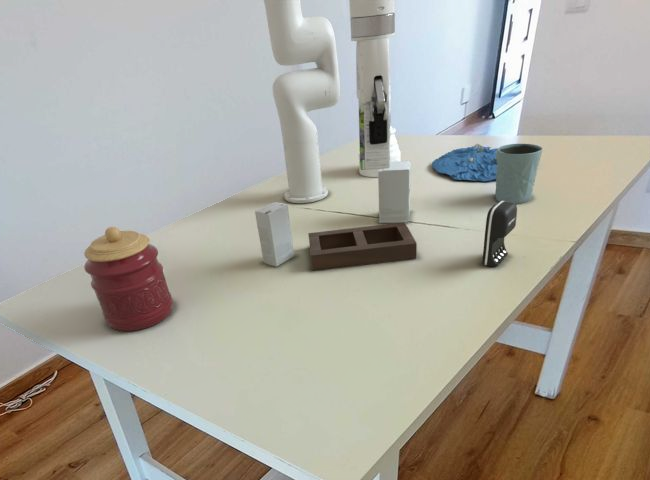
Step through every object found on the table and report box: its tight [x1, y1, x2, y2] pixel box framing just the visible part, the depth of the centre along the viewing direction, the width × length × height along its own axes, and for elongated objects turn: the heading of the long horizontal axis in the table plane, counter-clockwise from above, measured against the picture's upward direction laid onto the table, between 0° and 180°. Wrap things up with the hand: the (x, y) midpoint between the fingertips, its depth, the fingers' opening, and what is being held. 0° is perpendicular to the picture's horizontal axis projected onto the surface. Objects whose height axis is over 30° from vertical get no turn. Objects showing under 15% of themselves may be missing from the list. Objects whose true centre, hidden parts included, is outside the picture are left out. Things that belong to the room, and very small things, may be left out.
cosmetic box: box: [254, 201, 295, 267], centre depth 106 cm, size 6×4×12 cm
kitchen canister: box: [83, 226, 174, 332], centre depth 91 cm, size 13×13×18 cm
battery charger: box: [481, 201, 518, 267], centre depth 96 cm, size 7×4×11 cm, turn 142°
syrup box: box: [357, 81, 392, 170], centre depth 94 cm, size 6×6×14 cm
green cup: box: [494, 143, 543, 205], centre depth 123 cm, size 10×10×12 cm
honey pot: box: [358, 124, 402, 178], centre depth 151 cm, size 13×13×18 cm
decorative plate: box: [431, 143, 498, 182], centre depth 148 cm, size 30×30×5 cm
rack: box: [307, 222, 418, 272], centre depth 108 cm, size 12×22×4 cm, turn 93°
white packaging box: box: [377, 160, 412, 224], centre depth 120 cm, size 7×7×13 cm
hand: (375, 138), depth 95 cm, fingers closed on syrup box, 6 cm apart
